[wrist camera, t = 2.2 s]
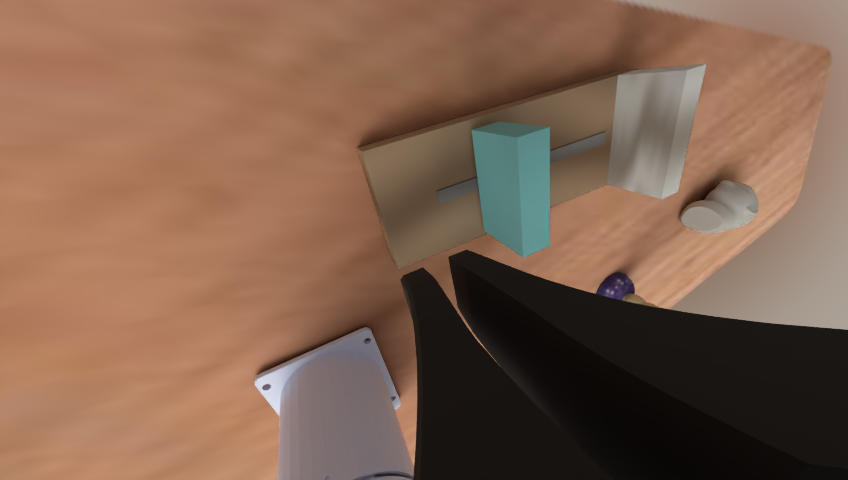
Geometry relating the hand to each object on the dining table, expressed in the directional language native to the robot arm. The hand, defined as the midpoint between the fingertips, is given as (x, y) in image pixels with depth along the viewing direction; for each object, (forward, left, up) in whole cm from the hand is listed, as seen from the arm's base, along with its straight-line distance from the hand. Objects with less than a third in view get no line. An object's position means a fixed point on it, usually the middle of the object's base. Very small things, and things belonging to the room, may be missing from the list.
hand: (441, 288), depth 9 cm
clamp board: (-1, -10, -10) cm, 14 cm away
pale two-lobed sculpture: (-12, -34, -11) cm, 37 cm away
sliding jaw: (-1, -7, -9) cm, 11 cm away
